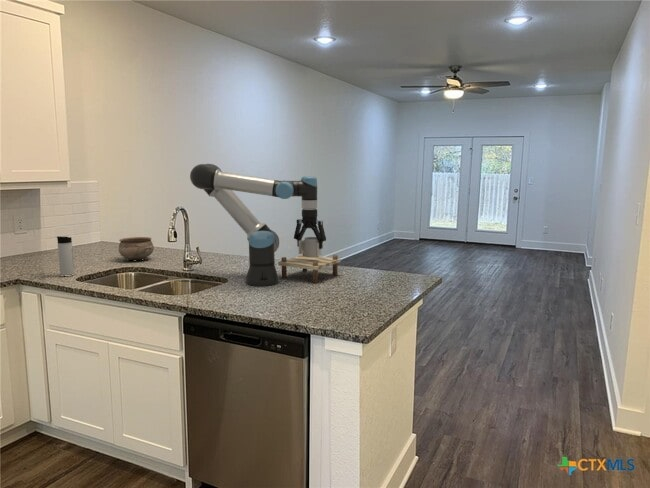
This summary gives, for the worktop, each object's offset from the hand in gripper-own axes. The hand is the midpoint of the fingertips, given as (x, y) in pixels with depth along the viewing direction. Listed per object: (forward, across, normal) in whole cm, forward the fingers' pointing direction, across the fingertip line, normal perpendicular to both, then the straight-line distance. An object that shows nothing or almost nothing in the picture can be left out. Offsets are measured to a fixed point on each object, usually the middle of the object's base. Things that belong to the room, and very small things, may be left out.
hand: (309, 254), depth 243 cm
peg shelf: (+11, 0, 0) cm, 11 cm away
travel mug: (+11, +104, +61) cm, 121 cm away
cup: (+1, 0, 0) cm, 1 cm away
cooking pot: (+11, +109, +16) cm, 111 cm away
